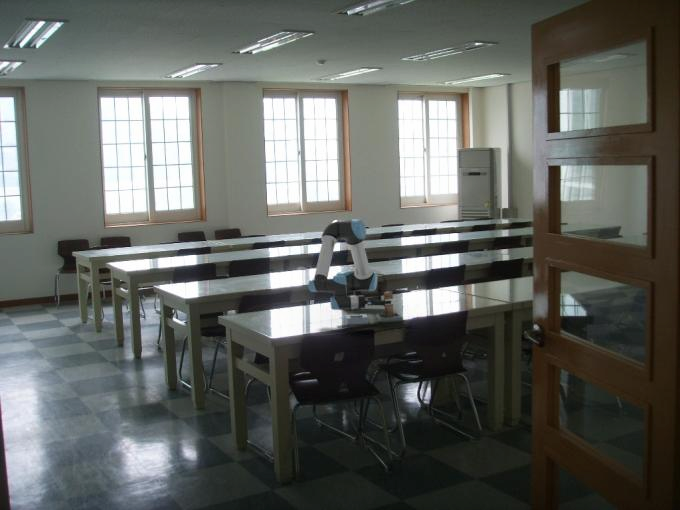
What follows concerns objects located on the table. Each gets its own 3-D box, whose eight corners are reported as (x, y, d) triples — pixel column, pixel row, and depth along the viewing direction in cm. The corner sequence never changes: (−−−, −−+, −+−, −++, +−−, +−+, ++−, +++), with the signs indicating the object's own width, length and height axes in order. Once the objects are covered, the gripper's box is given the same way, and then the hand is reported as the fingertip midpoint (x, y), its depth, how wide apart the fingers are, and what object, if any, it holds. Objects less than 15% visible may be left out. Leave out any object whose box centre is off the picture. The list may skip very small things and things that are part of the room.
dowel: (384, 317, 433) (383, 291, 432) (392, 316, 434) (391, 291, 432) (385, 319, 428) (384, 293, 427) (394, 318, 429) (393, 292, 427)
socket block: (345, 320, 435) (344, 315, 434) (365, 319, 436) (365, 314, 436) (347, 324, 423) (347, 319, 422) (368, 323, 424) (368, 317, 424)
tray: (376, 318, 437) (376, 314, 437) (398, 316, 438) (398, 312, 438) (380, 322, 424) (379, 318, 424) (402, 321, 426) (402, 316, 425)
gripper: (355, 304, 441) (390, 302, 443) (360, 312, 416) (398, 309, 418) (354, 292, 440) (390, 289, 442) (360, 298, 415) (398, 296, 418)
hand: (394, 299), depth 430 cm, fingers open, 13 cm apart
